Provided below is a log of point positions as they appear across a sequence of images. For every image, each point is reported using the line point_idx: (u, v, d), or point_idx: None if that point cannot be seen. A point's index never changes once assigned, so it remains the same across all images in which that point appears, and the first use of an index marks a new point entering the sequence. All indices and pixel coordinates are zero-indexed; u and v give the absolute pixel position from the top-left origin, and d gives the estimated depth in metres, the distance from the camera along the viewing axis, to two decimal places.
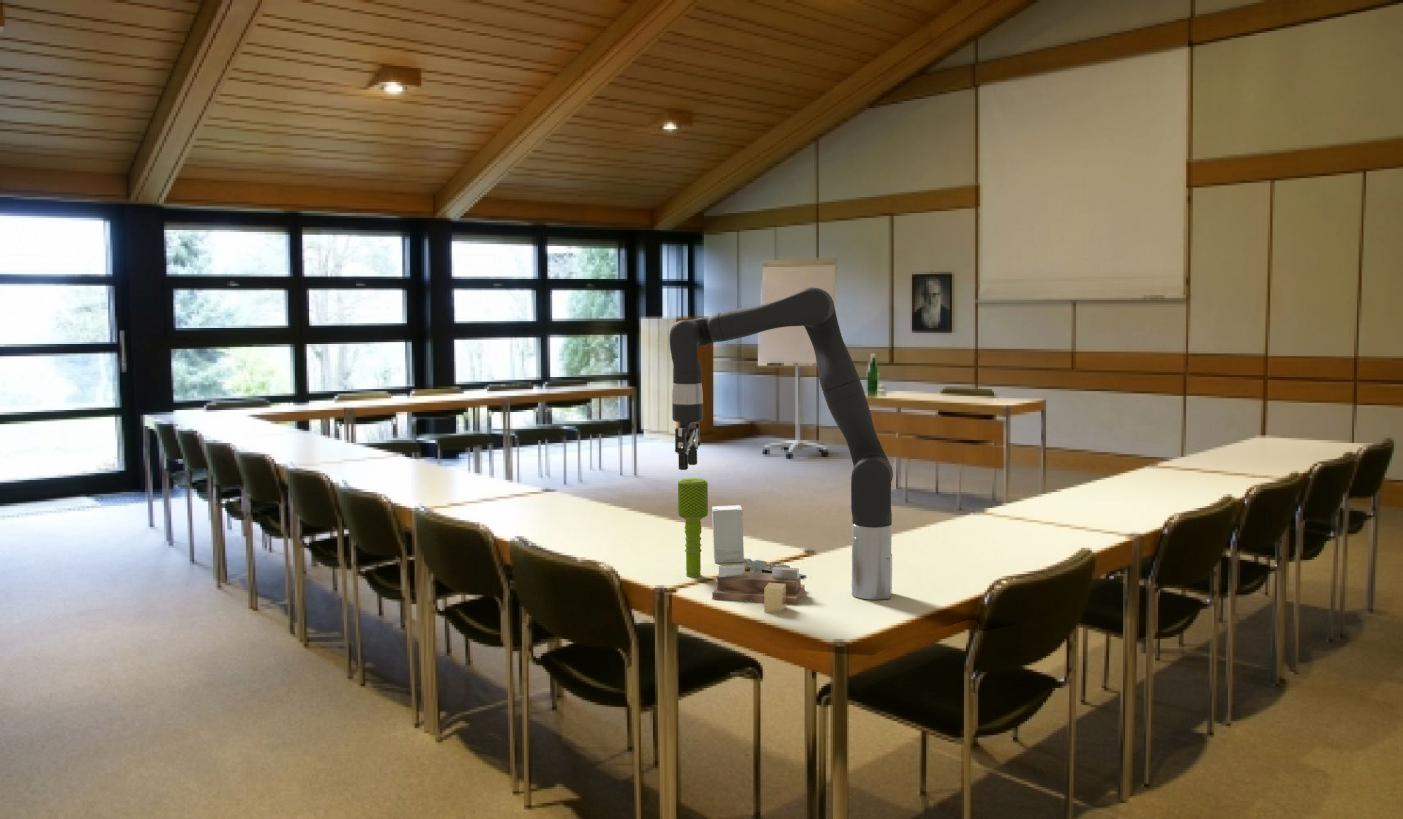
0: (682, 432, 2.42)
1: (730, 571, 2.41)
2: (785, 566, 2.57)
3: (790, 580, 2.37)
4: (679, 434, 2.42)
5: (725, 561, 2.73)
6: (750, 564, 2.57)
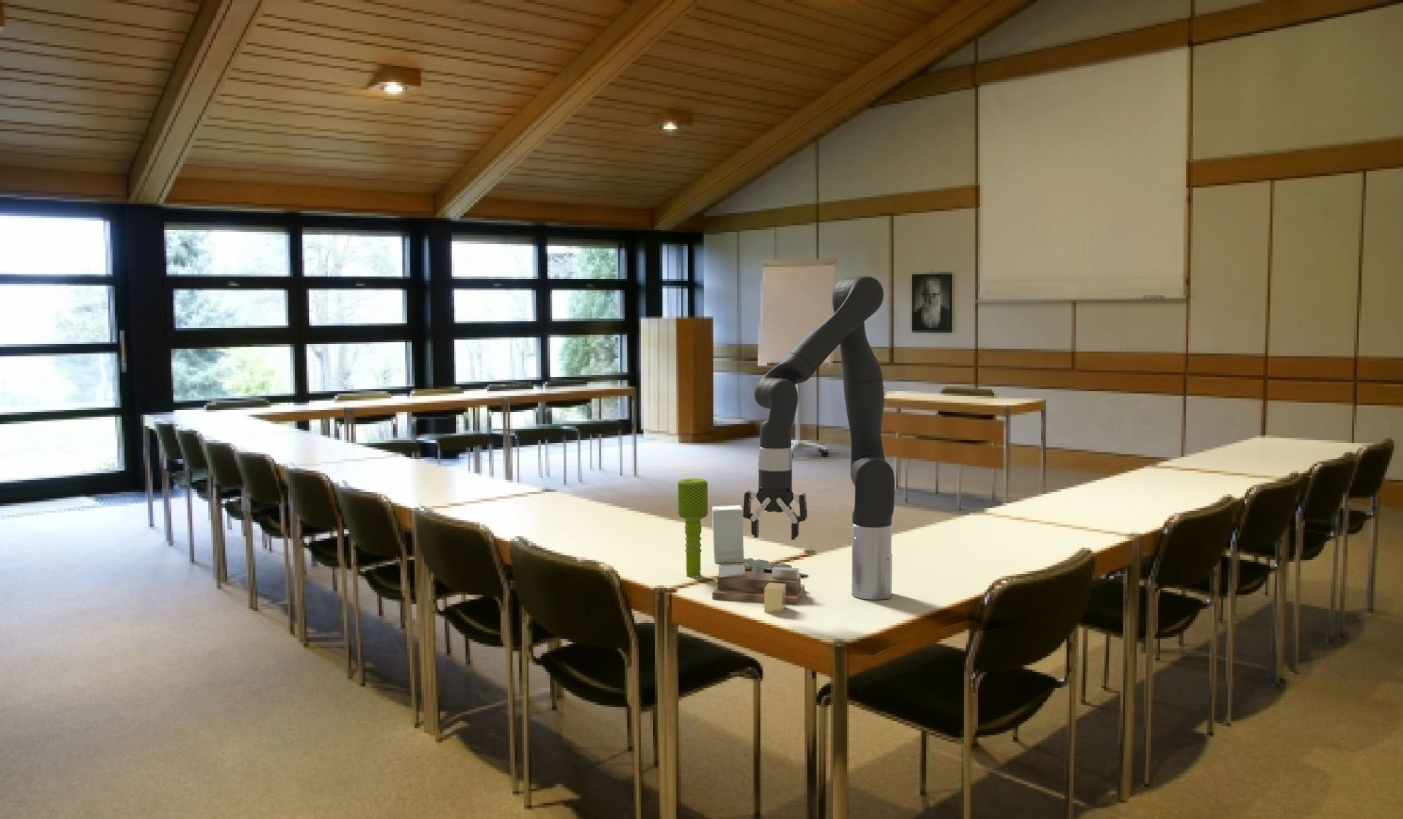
0: (805, 497, 2.26)
1: (730, 571, 2.41)
2: (787, 565, 2.57)
3: (790, 580, 2.37)
4: (805, 500, 2.25)
5: (725, 561, 2.73)
6: (752, 563, 2.58)
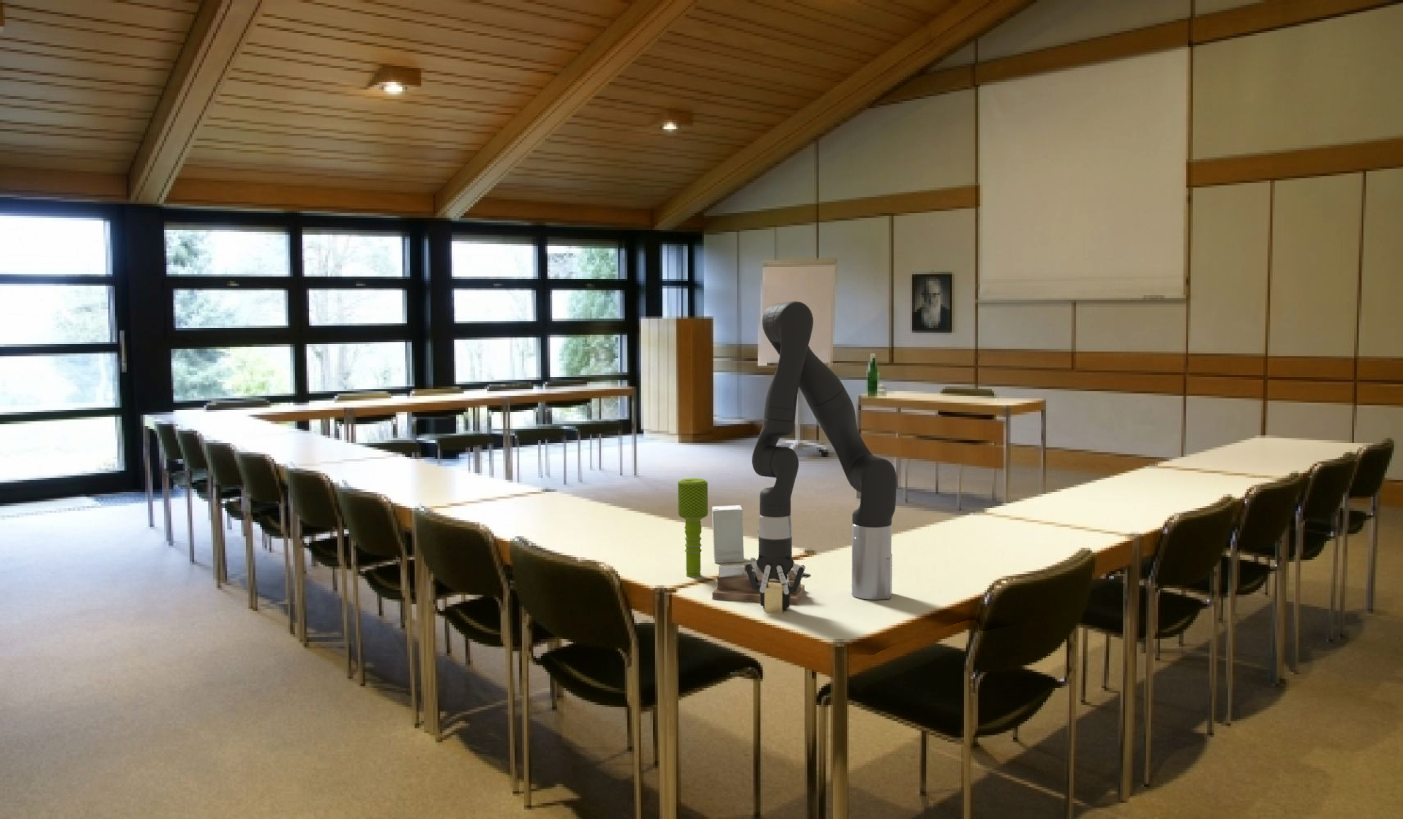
0: None
1: (730, 571, 2.41)
2: None
3: (790, 580, 2.37)
4: (802, 573, 2.27)
5: (725, 561, 2.73)
6: None
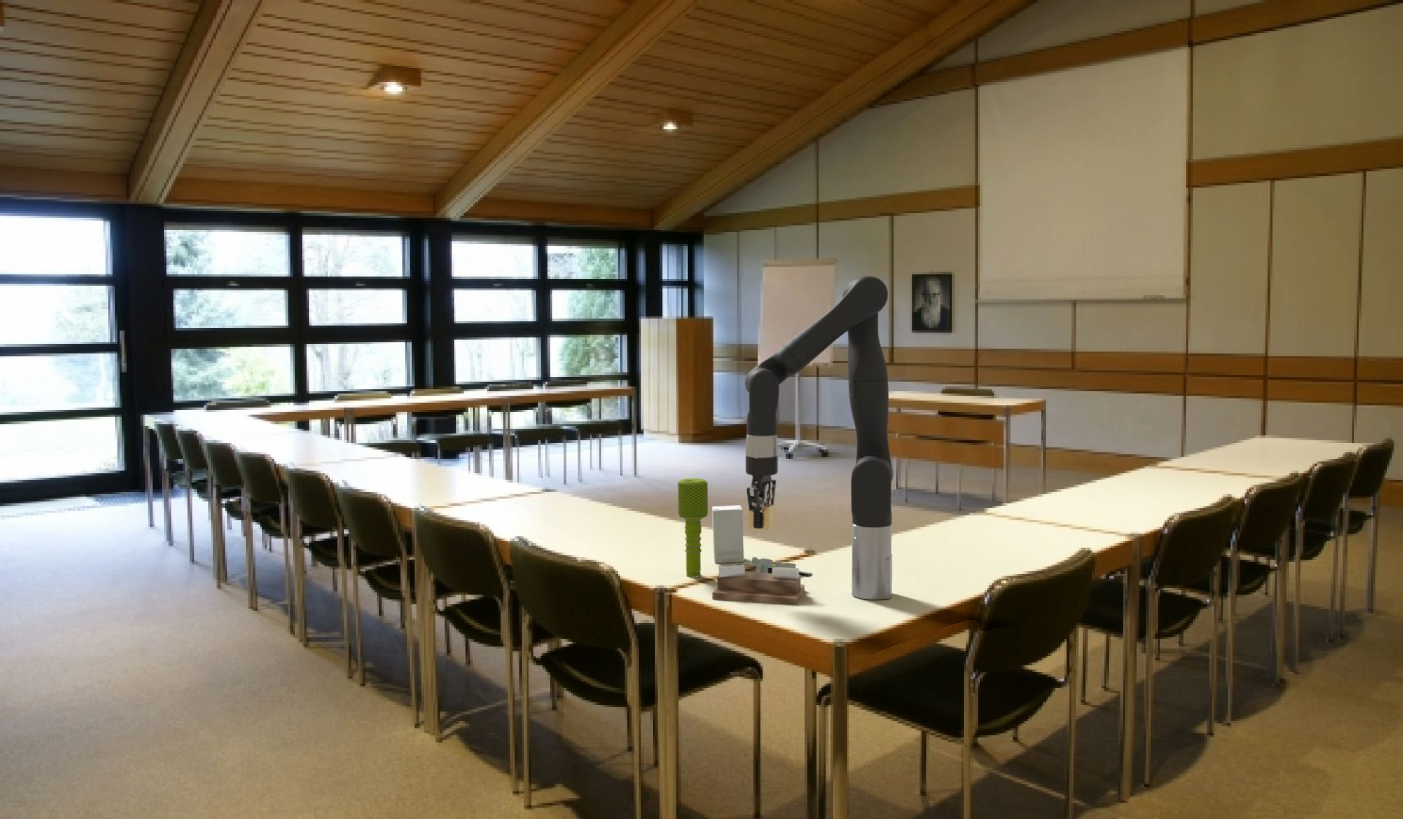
0: None
1: (730, 571, 2.41)
2: (791, 564, 2.59)
3: (790, 580, 2.37)
4: None
5: (725, 561, 2.73)
6: (756, 562, 2.59)
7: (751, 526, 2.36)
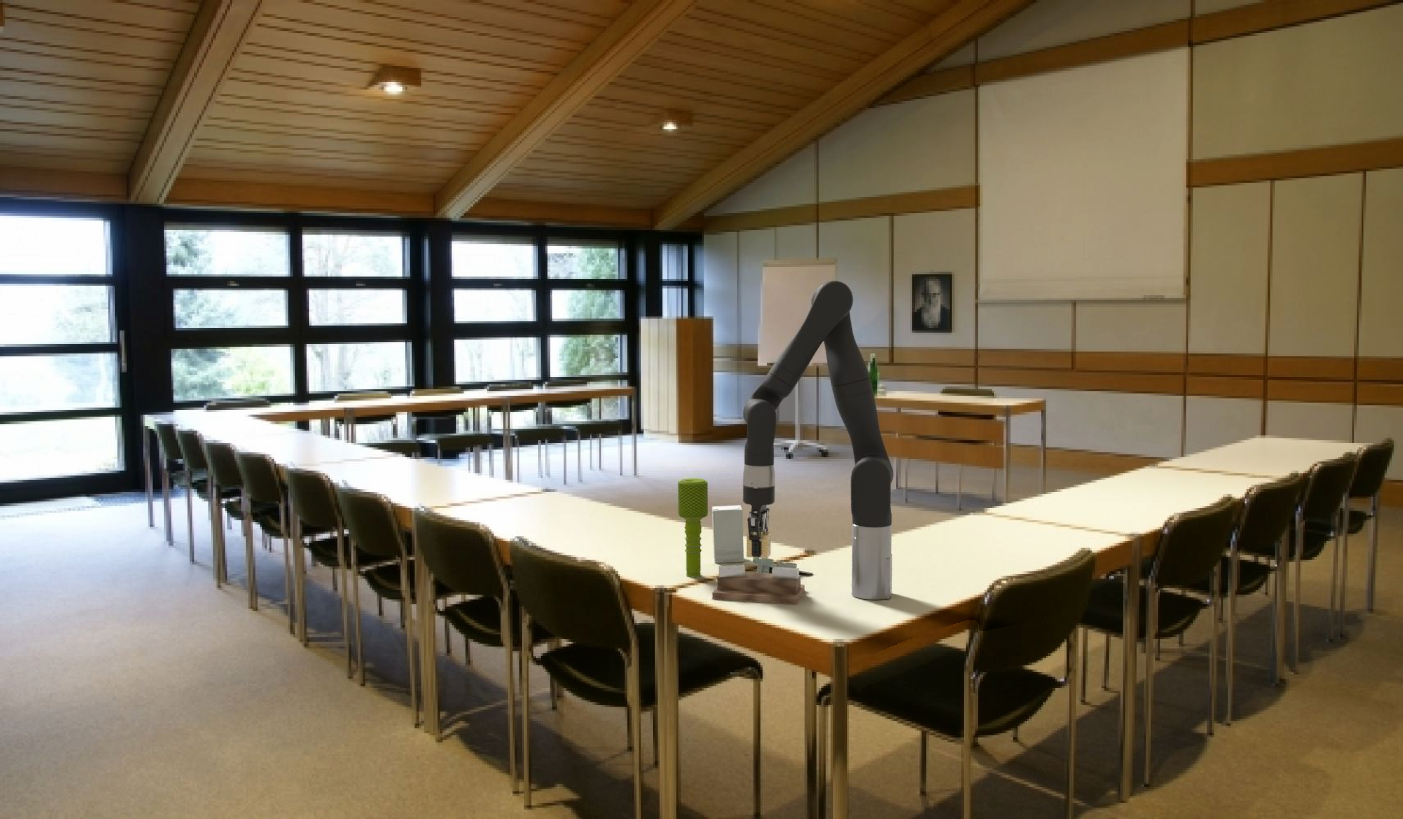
0: None
1: (730, 571, 2.41)
2: (792, 564, 2.59)
3: (790, 580, 2.37)
4: None
5: (725, 561, 2.73)
6: (757, 562, 2.60)
7: (749, 555, 2.39)
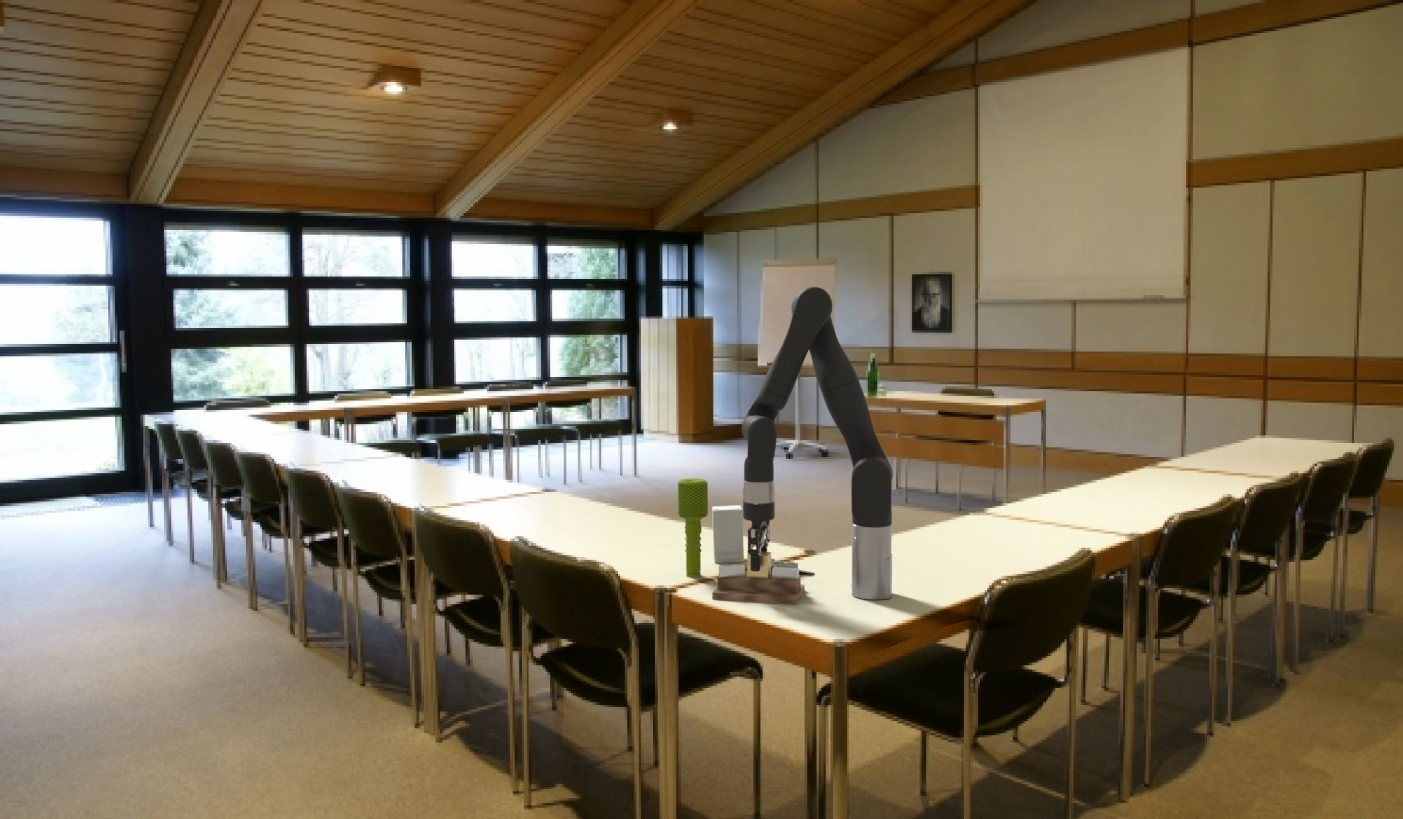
0: None
1: (730, 571, 2.41)
2: (793, 563, 2.60)
3: (790, 580, 2.37)
4: None
5: (725, 561, 2.73)
6: None
7: (749, 575, 2.40)
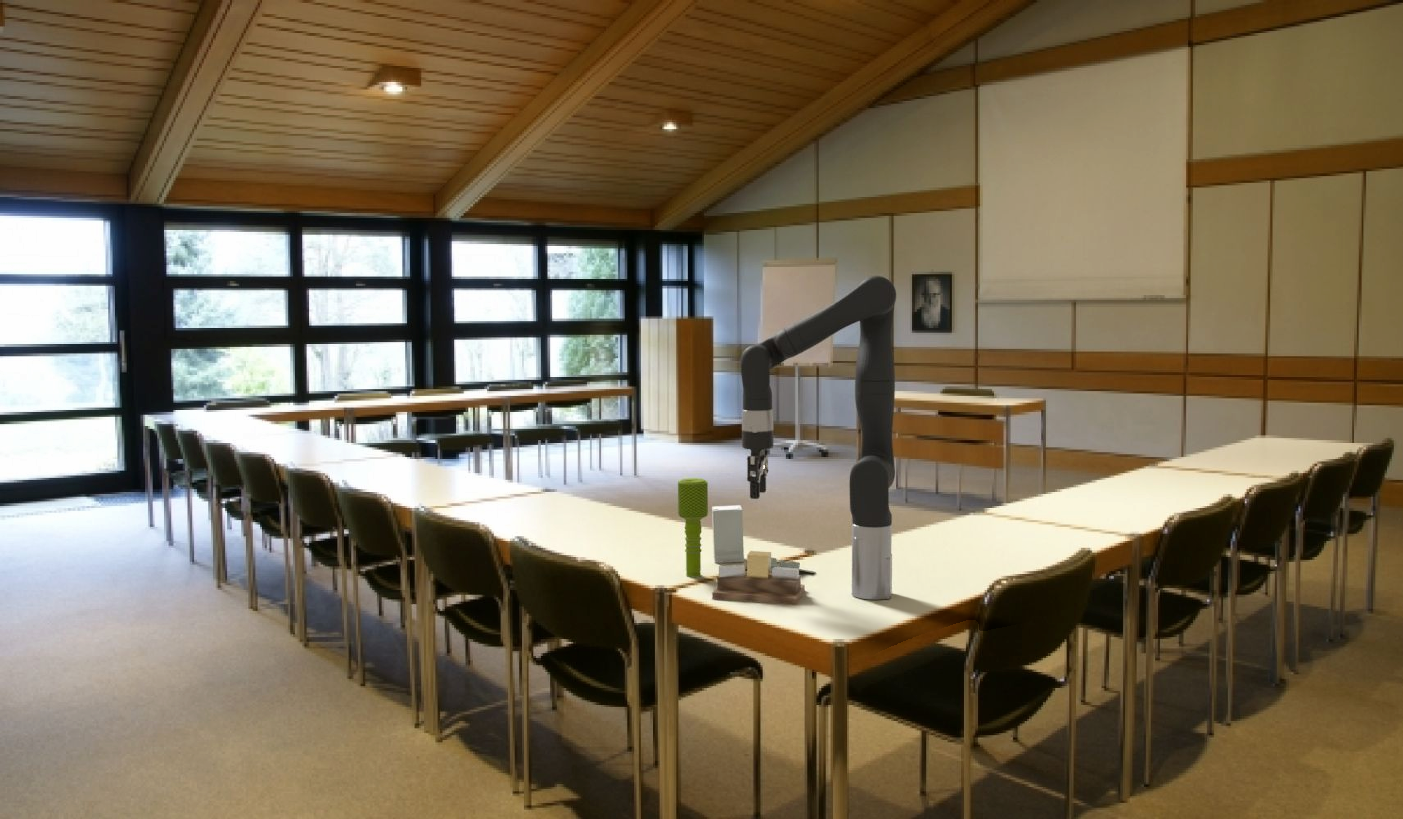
0: None
1: (730, 571, 2.41)
2: (795, 563, 2.60)
3: (790, 580, 2.37)
4: None
5: (725, 561, 2.73)
6: None
7: (749, 575, 2.40)
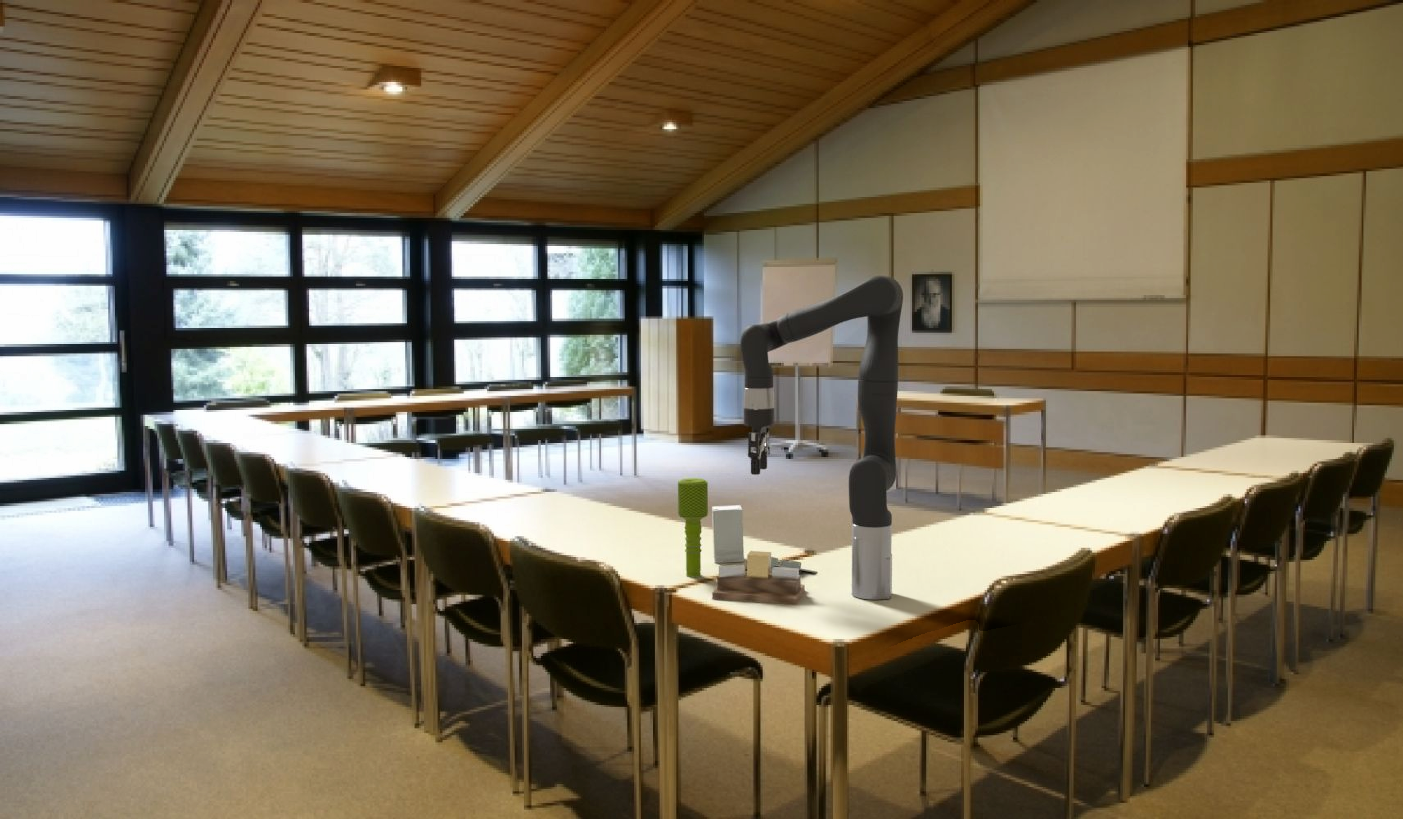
0: None
1: (730, 571, 2.41)
2: (796, 562, 2.61)
3: (790, 580, 2.37)
4: None
5: (725, 561, 2.73)
6: None
7: (749, 575, 2.40)
